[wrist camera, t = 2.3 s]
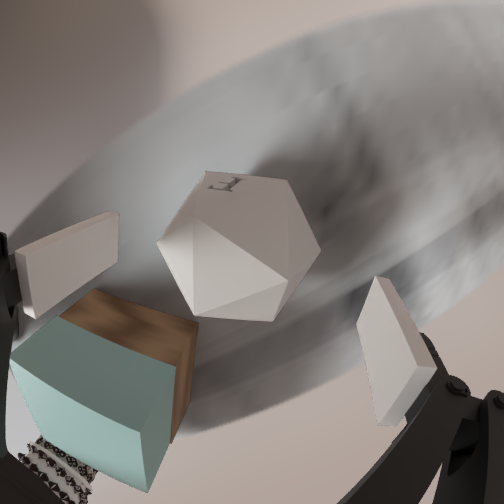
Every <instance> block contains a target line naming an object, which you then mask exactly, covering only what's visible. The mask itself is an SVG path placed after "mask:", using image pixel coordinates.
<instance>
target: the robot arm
mask: <svg viewBox="0 0 504 504" xmlns="http://www.w3.org/2000/svg"><path fill="white" fill-rule="evenodd" d="M118 231H119V214H118V213H114V212H109V211H107V212H105V213H102V214H99V215H97V216H94V217H92V218H89V219H87V220H84V221H82V222H79V223H77V224H74V225H72V226H69V227H67V228H64V229H62V230H60V231H57V232H55V233H52V234H50V235H48V236H46V237H43V238H41V239H39V240H37V241H34V242H32V243H30V244H28V245H25V246H23V247H21V248H19V249H17V250H15V251H14V252H15V253H14V254H11V255H9V256H8V247H7V237H6V234H5V233H3V232H0V504H65V503H64V502H63V501H62V500H61V499H60V498H59V497H58V496H57V495H56V494H55V493H54V492H53V491H52V490H51V489H50V487H49V486H48V485H47V484H46V483H45V482H44V481H43V480H42V479H41V478H40V477H39V476H38V475H37V474H36V473H34V472H33V471H32V470H30V469H29V468H28V467H26V466H25V465H24V464H23V463H21V462H20V461H19V460H18V459H16V458H15V457H14V456H13V455H12V454H10V453H9V452H8V450H7V446H6V439H5V414H6V392H7V380H8V370H9V362H10V354H11V347H12V341H14V340H15V339H16V337H17V334H18V321H17V314H18V308H17V303H19V302H20V301H22V303H23V308H24V313H26V314H27V315H29V316H31V317H32V318H34V319H37V318H38V317H40V316H41V315H42V314H44V313H45V312H46V311H48V310H49V309H51V308H52V307H53V306H55V305H56V304H57V303H59V302H60V301H62V300H63V299H64V298H66V297H67V296H69V295H70V294H71V293H73V292H74V291H76V290H77V289H78V288H80V287H81V286H83V285H84V284H86V283H87V282H88V281H90V280H91V279H93V278H94V277H96V276H97V275H99V274H100V273H102V272H103V271H105V270H106V269H108V268H109V267H111V266H112V265H114V264H115V263H117V262H118ZM356 325H357V329H358V333H359V337H360V342H361V346H362V350H363V355H364V359H365V364H366V368H367V373H368V377H369V383H370V387H371V392H372V398H373V403H374V408H375V414H376V420H377V425H380V426H397V425H398V423H399V422H400V421H401V420H402V419H403V417H404V416H405V417H406V421H407V425H406V426H405V427H404V429H403V430H402V431H401V432H400V433H399V435H398V436H397V437H396V438H395V439H394V440H393V442H392V444H391V445H390V447H389V448H388V449H387V450H386V451H385V453H384V454H383V455H382V456H381V458H380V459H379V460H378V461H377V462H376V463H375V464H374V466H373V467H372V468H371V469H370V470H369V471H368V472H367V474H366V475H365V476H364V477H363V478H362V479H361V480H360V481H359V482H358V483H357V484H356V486H354V487H353V488H352V489H351V490H350V492H348V494H346V495H345V496H344V497H343V498H342V499H341V500H340V501H339V502H338V503H337V504H418V503H419V502H420V500H421V499H422V497H423V495H424V494H425V492H426V490H427V489H428V487H429V485H430V484H431V482H432V480H433V478H434V477H435V475H436V473H437V471H438V469H439V467H440V466H441V463H442V462H443V463H442V469H441V472H440V477H439V481H438V485H437V489H436V492H435V496H434V500H433V503H432V504H504V393H502V392H500V391H497V390H491V391H490V392H489V393H488V394H487V395H486V397H485V398H484V399H483V400H482V399H478V398H475V397H472V396H471V392H470V390H469V387H468V386H467V385H466V384H465V382H463V381H462V380H461V379H459V378H457V377H455V376H451V375H449V374H448V372H447V370H446V368H445V366H444V365H443V362H442V361H441V359H440V357H439V355H438V353H437V351H436V350H435V347H434V345H433V343H432V342H431V340H430V339H429V338H428V337H427V336H426V335H424V333H420V332H419V331H418V329H417V327H416V325H415V324H414V322H413V320H412V318H411V316H410V314H409V313H408V311H407V309H406V307H405V305H404V304H403V302H402V300H401V298H400V297H399V295H398V293H397V291H396V290H395V288H394V286H393V285H392V283H391V281H390V280H389V279H387V278H383V277H379V276H375V277H374V280H373V283H372V286H371V288H370V291H369V293H368V296H367V299H366V301H365V304H364V306H363V309H362V311H361V314H360V316H359V319H358V321H357V323H356Z"/></svg>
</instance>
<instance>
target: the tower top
mask: <svg viewBox="0 0 504 504" xmlns="http://www.w3.org/2000/svg"><path fill="white" fill-rule="evenodd" d="M10 365H11V368H12V371H13V373H14V376H15V378H16V381H17V383H18V386H19V388H20V391H21V393H22V395H23V398H24V400H25V402H26V404H27V406H28V408H29V411H30V413H31V415H32V416H33V419H34V421H35V423H36V425H37V427H38V429H39V431H40V432H41V434H42V436H43V438H44V439H46V440H47V441H49V442H50V443H52V444H53V445H55V446H56V447H58V448H59V449H61V450H63V451H64V452H66V453H67V454H69V455H71V456H72V457H74V458H76V459H78V460H79V461H81V462H83V463H85V464H86V465H88V466H90V467H92V468H94V469H96V470H98V471H100V472H102V473H104V474H106V475H108V476H110V477H112V478H114V479H116V480H118V481H120V482H122V483H125V484H127V485H129V486H131V487H134V488H136V489H139V490H141V491H143V492H146V493H148V491H149V489H150V487H151V485H152V482H153V480H154V478H155V476H156V474H157V471H158V469H159V467H160V464H161V462H162V460H163V458H164V455H165V453H166V451H167V449H168V446H169V444H170V436H171V420H172V406H173V394H174V383H175V372H176V367H175V366H172V365H169V364H167V363H164V362H161V361H158V360H156V359H153V358H150V357H148V356H145V355H143V354H140V353H138V352H135V351H133V350H130V349H128V348H125V347H123V346H120V345H118V344H116V343H113V342H111V341H109V340H107V339H104V338H102V337H100V336H98V335H95V334H93V333H91V332H89V331H87V330H85V329H83V328H81V327H78V326H76V325H74V324H72V323H70V322H68V321H66V320H64V319H62V318H60V317H59V316H57V315H56V316H55V317H54V318H52V319H51V320H50V321H49V322H47V323H46V324H45V325H44V326H43V327H41V328H40V329H39V330H38V331H36V332H35V333H34V334H33V335H32V336H30V337H29V338H28V339H27V340H26V341H25V342H23V343H22V344H21V345H20V346H19V347H18V348H16V349H15V350H14V351H13V352H12V353H11V354H10Z"/></svg>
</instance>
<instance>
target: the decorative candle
mask: <svg viewBox="0 0 504 504" xmlns="http://www.w3.org/2000/svg"><path fill="white" fill-rule="evenodd" d="M27 445H28V446H27V447H28V449H29V451H30V452H29V454H28V455H27V456H26V457H25V454H22V453H18V458H19V461H22V463H23V464H24V465H25V466H26V467H28V468H29V469H30V470H32V471H33V472H34V473H36V474H37V475H38V476H39V477H40V478H41V479H42V480H43V481H44V482H45V483H46V484H47V485H48V486H49V487H50V489H51V490H52V491H53V492H54V493H55V494H56V495H57V496H58V497H59V498H60V499H61V500H62V501H63V502H64V503H65V504H87V503H88V501H87V495H88V494H92V493H91V492H92V486H91V485H90V483H91V482H92V481H93V480H94V478H95V475H96V473H97V472H98V470H96V469H94V468H92V467H90V466H88V465H86V464H85V463H83V462H81V461H79V460H78V459H76V458H74V457H72V456H71V455H69V454H67V453H66V452H64V451H63V450H61V449H59V448H58V447H56V446H55V445H53V444H52V443H50V442H49V441H47V440H46V439H44V438H43V436H42V434H41V436H40V437H39V438H38V440H37V441H36V442H35V443H33V442H30V443H29V444H27Z"/></svg>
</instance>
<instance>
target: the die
mask: <svg viewBox="0 0 504 504" xmlns="http://www.w3.org/2000/svg"><path fill="white" fill-rule="evenodd" d="M157 245H158V247H159V249H160V251H161V253H162V255H163V257H164V259H165V261H166V263H167V265H168V267H169V269H170V271H171V273H172V275H173V277H174V279H175V281H176V283H177V285H178V287H179V288H180V290H181V292H182V294H183V296H184V298H185V300H186V302H187V303H188V305H189V307H190V309H191V311H192V313H193V314H194V316H203V317H214V318H225V319H238V320H252V321H269V322H273V321H274V319H275V318H276V316H277V315H278V314H279V312H280V311H281V309H282V308H283V306H284V305H285V304H286V302H287V301H288V299H289V298H290V296H291V295H292V294H293V292H294V291H295V289H296V288H297V286H298V285H299V283H300V282H301V280H302V279H303V277H304V276H305V274H306V273H307V271H308V270H309V268H310V267H311V265H312V264H313V262H314V261H315V259H316V258H317V256H318V255H319V253H320V252H321V249H320V247H319V245H318V243H317V241H316V238H315V236H314V234H313V232H312V230H311V228H310V226H309V224H308V221H307V219H306V217H305V215H304V213H303V211H302V209H301V207H300V205H299V203H298V201H297V199H296V197H295V195H294V193H293V191H292V189H291V187H290V185H289V183H288V181H287V180H284V179H277V178H268V177H260V176H251V175H242V174H232V173H222V172H210V171H206V172H205V173H204V175H203V176H202V177H201V179H200V180H199V181H198V183H197V184H196V186H195V187H194V188H193V190H192V191H191V193H190V194H189V196H188V197H187V198H186V200H185V201H184V203H183V204H182V206H181V207H180V209H179V210H178V212H177V213H176V215H175V216H174V218H173V219H172V221H171V222H170V224H169V225H168V227H167V228H166V230H165V231H164V233H163V234H162V236H161V237H160V239H159V240H158V242H157Z"/></svg>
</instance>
